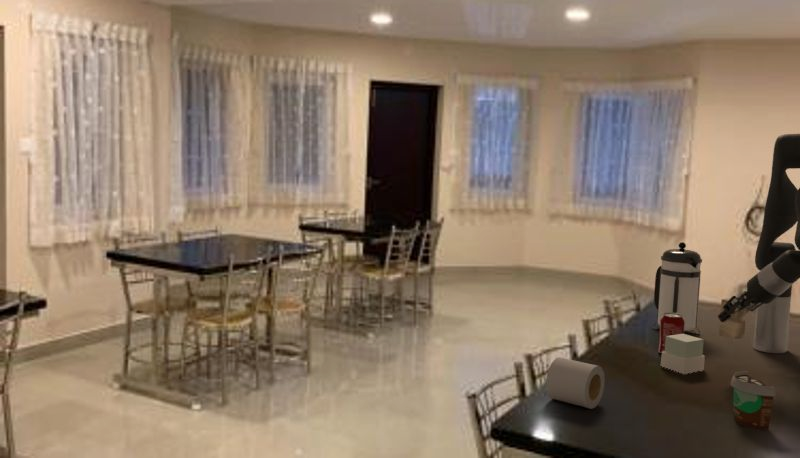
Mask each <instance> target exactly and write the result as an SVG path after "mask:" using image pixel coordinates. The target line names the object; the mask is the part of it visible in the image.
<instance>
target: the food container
mask: <svg viewBox="0 0 800 458" xmlns="http://www.w3.org/2000/svg"><path fill="white" fill-rule="evenodd" d="M730 386H731V387H732V388H733V420H734V421H735V422H736V423H738V425H741V426H745V427H747V428H753V429H757V430H769V429H770V422H771V418H772V417H771V416H772V410H773V403H774V397H776V386H770V385H769V386H768V385H766V384H764V383H763V382H762V381H761V380H759V379H755V378H753V377H751V376H750V375H749V371H747V370H745V371H744V370H743V371H737V372H735V373H734V374H733V376H732V378H731V381H730Z"/></svg>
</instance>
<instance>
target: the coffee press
mask: <svg viewBox="0 0 800 458" xmlns="http://www.w3.org/2000/svg"><path fill="white" fill-rule="evenodd" d="M686 246H687V245H686V243H685V242H683V241H681V242H679V243H678V248H673V249H672V248H671V249H667V250H665V251H664V252H663V254H662V255H661V256H660V260H661V265H659V267H658V268H657V269H656V272H655V277H654V278H655V279H654V280H655V281H654V291H653V292H654V294H653V296H654V297H653V301H654V306H655V308H656V309H657V317H656V318H657V319H656V322H655V323H654V324H653V326H652V328H653V329H654V330H657V329H660V319H661V318H662V316H663V313H678V314H681V315H683V317H682V318H683V320H684V332H693V333H694V334H695V333H697V332H696V331H695V330H694V329H695V328H696V329H697V331H698V334H699V335H700V334H701V330H700V329H699V327H698V316H699V304H700V303H699V301H700V299H699V298H700V289H701V288H700V286H701V274H702V271H701V265H702V263H703V259H702V257H701V255H700V254H699V253H698V252H697V251H694V250H690V249H685V248H686ZM656 324H658V327H655V325H656Z"/></svg>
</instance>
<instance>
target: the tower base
mask: <svg viewBox="0 0 800 458" xmlns="http://www.w3.org/2000/svg"><path fill="white" fill-rule="evenodd" d="M660 354H661V353H660ZM705 357H706V355H704V354H703V355H702V356H696V357H690V358H683V357H679V356H676V355H673V354H670V353H666V352H665V351H663V352H662V354H661V355H660V367H661V366H662V367H661V368H663V367H665V368H664V369H666V368H668V369H667V370H669V369H671V370H670V371H672V370H674V371H673V372H675V371H676V372H675V373H678V372H679V374H681V373H682V375H688V373H689V374H692V373H693V372H695V373H698V372H697V371H700V372H704V371H703V370H705ZM693 374H694V373H693Z"/></svg>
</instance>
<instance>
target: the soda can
mask: <svg viewBox="0 0 800 458" xmlns="http://www.w3.org/2000/svg"><path fill="white" fill-rule="evenodd" d="M682 317H683V315H681V314H678V313H663V316H662V318H661V319H660V327H659V333H658V335H659V336H658V349H657V351H658V353H660V354H661V353H662V352H663V351H665V341H666V336H670V335H677V334H685V331H684V320H683V318H682Z"/></svg>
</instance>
